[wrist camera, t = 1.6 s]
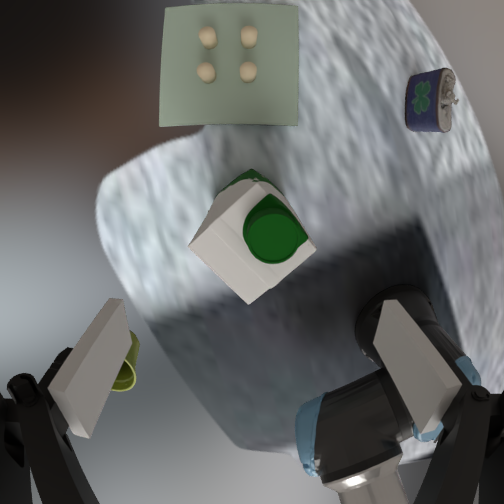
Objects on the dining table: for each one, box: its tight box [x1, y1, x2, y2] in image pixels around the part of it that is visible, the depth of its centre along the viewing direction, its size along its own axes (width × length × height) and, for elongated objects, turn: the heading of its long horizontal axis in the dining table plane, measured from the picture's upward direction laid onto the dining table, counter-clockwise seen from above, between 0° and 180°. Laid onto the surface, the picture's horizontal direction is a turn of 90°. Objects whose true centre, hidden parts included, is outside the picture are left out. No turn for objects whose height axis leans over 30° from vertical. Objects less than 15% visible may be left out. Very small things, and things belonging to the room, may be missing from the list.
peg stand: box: [159, 3, 299, 127], centre depth 32 cm, size 18×18×6 cm
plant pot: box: [111, 330, 140, 391], centre depth 46 cm, size 9×9×9 cm
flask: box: [405, 68, 459, 133], centre depth 32 cm, size 9×3×11 cm, turn 173°
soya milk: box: [188, 169, 317, 305], centre depth 33 cm, size 9×9×20 cm
